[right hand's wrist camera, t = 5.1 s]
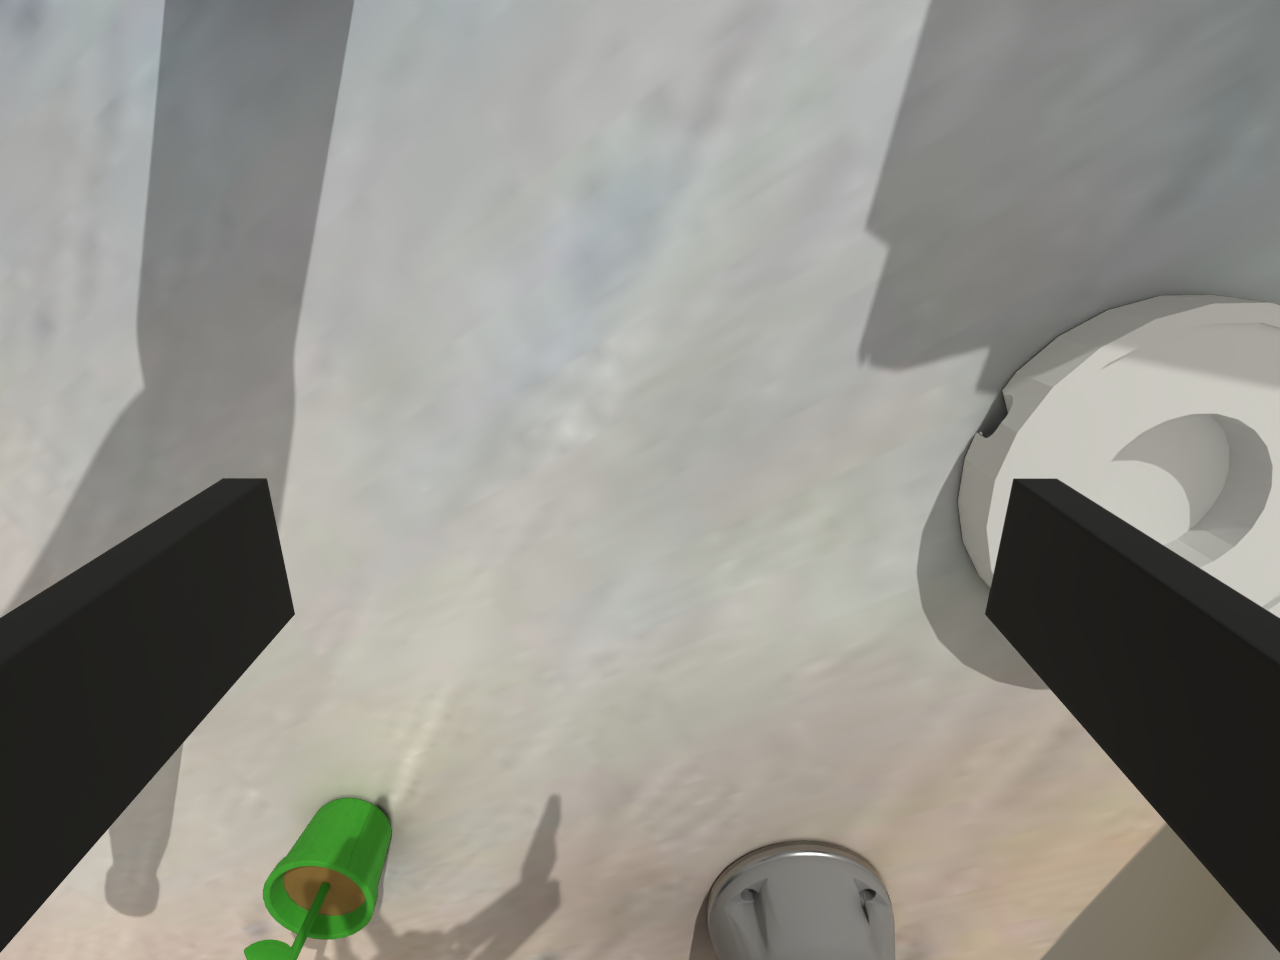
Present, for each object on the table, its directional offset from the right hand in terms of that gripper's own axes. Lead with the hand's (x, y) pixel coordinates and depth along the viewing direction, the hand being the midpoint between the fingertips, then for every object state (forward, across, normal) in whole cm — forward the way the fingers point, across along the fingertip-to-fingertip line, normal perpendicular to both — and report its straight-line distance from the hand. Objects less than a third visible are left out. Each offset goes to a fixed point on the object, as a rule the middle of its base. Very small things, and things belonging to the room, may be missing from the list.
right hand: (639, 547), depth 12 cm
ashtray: (+31, -32, +10) cm, 46 cm away
